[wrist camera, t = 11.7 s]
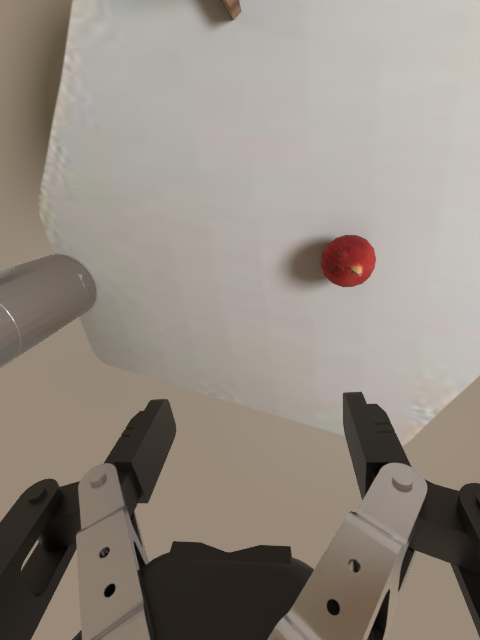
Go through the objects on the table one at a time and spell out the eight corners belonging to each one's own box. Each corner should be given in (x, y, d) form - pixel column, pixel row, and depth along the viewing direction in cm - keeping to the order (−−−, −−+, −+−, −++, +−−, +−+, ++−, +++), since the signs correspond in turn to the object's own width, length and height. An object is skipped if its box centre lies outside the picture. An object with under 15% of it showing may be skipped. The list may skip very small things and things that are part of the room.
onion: (316, 276, 39) (324, 297, 32) (319, 230, 37) (330, 242, 29) (362, 276, 38) (381, 298, 31) (369, 230, 36) (392, 242, 29)
